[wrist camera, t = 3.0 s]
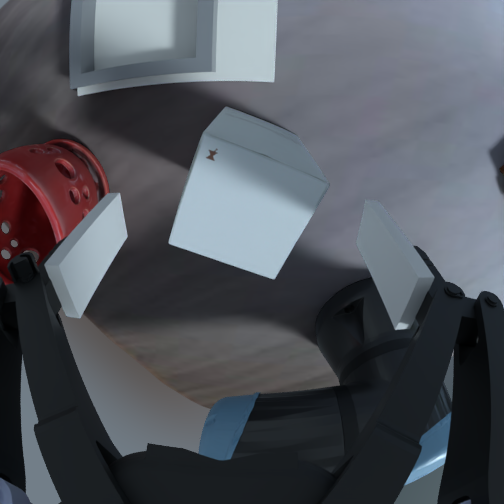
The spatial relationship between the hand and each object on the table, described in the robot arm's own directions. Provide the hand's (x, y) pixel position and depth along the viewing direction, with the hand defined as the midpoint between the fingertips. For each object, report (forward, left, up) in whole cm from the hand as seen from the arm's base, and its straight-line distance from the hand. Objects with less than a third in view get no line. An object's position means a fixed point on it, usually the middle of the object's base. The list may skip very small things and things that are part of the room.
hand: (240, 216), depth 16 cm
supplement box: (0, 0, -14) cm, 14 cm away
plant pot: (-3, +19, -14) cm, 24 cm away
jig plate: (+14, +7, -14) cm, 20 cm away
